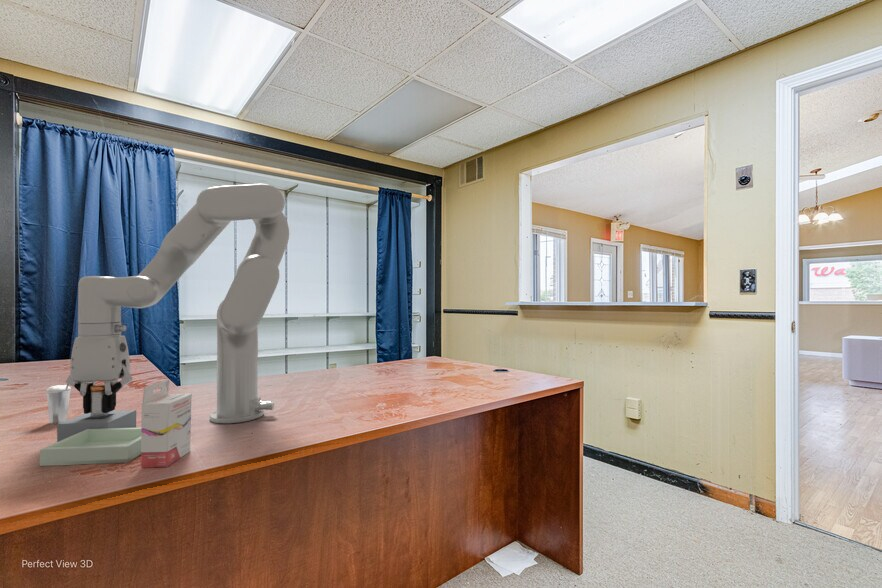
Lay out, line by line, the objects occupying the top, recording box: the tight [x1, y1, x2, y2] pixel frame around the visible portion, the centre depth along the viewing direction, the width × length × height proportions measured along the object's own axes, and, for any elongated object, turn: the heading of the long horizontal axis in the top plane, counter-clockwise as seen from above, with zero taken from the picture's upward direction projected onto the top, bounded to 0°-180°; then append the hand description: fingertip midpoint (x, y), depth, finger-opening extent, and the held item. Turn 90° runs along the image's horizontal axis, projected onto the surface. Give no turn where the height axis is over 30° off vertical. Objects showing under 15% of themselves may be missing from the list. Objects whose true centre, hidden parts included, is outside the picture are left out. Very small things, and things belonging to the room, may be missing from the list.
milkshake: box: [45, 383, 72, 425], centre depth 104 cm, size 5×5×10 cm
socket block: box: [56, 409, 137, 442], centre depth 95 cm, size 10×10×4 cm
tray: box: [39, 426, 142, 467], centre depth 84 cm, size 15×12×3 cm
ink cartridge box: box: [140, 379, 193, 468], centre depth 81 cm, size 9×5×15 cm, turn 5°
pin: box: [90, 383, 109, 420], centre depth 95 cm, size 3×3×11 cm
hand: (99, 410), depth 95 cm, fingers closed on pin, 3 cm apart
